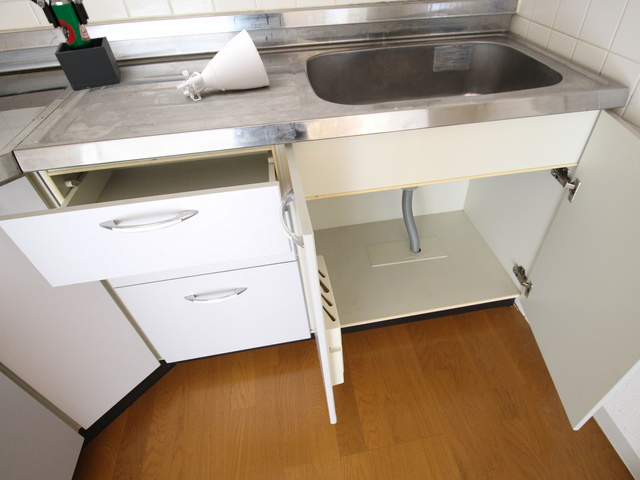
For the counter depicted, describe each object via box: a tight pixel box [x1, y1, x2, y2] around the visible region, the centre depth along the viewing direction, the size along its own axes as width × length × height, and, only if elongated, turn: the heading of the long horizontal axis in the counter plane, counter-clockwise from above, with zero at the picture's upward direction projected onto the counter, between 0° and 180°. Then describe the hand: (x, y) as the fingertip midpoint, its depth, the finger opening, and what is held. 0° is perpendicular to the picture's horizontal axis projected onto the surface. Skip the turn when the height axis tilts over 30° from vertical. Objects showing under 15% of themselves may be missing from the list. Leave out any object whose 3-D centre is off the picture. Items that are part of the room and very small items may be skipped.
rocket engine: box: [176, 29, 270, 102], centre depth 84 cm, size 12×12×18 cm
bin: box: [54, 36, 121, 91], centre depth 94 cm, size 10×10×8 cm
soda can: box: [48, 0, 94, 51], centre depth 89 cm, size 5×5×12 cm
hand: (71, 24), depth 88 cm, fingers open, 5 cm apart
